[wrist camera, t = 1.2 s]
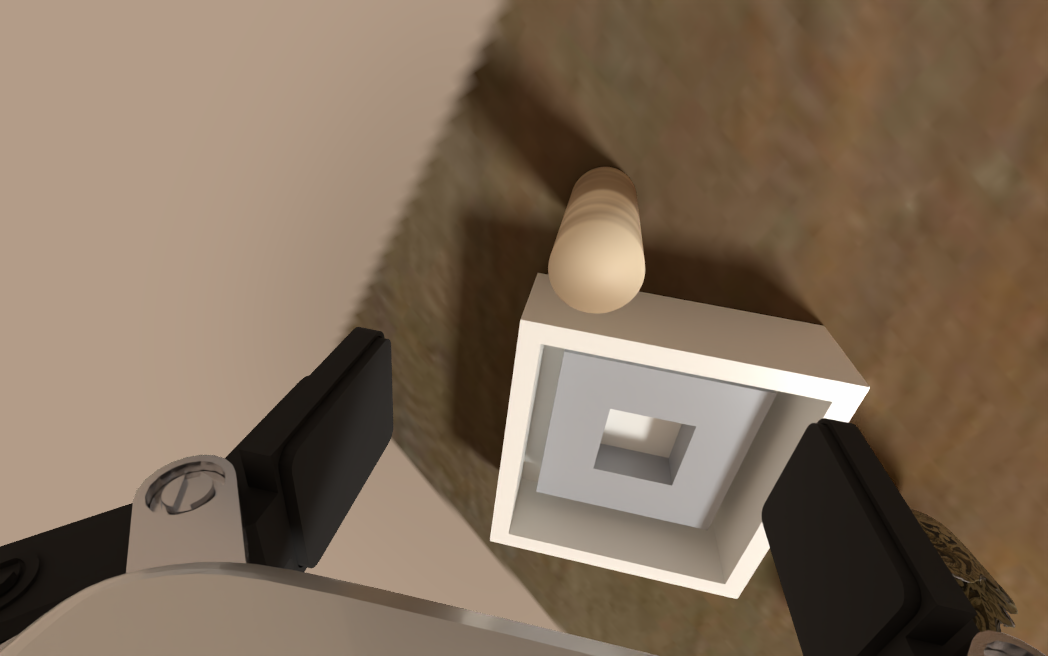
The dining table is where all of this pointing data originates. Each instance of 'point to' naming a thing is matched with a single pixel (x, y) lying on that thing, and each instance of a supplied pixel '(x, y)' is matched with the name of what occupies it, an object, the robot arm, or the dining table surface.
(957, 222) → the dining table surface
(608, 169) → the peg
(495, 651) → the robot arm
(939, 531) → the cup
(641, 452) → the box
